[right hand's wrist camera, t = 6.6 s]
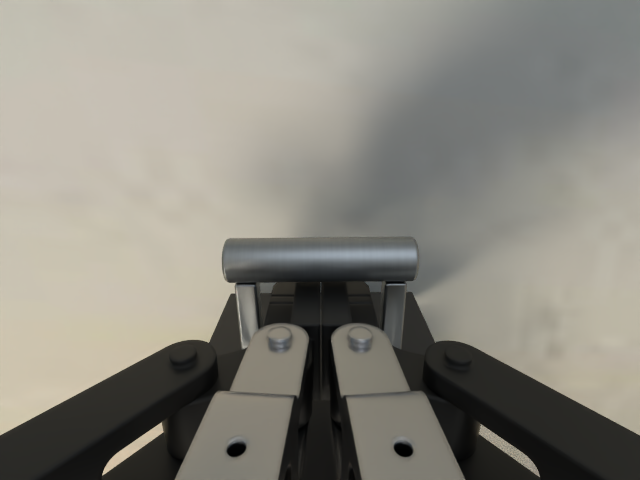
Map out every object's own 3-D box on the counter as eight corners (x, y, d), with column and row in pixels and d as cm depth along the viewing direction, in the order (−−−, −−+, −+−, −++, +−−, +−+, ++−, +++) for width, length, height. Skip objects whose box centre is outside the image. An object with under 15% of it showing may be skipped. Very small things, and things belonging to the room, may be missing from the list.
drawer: (218, 184, 16) (92, 298, 7) (422, 182, 16) (549, 295, 7) (256, 521, 24) (219, 767, 15) (390, 520, 24) (431, 766, 15)
